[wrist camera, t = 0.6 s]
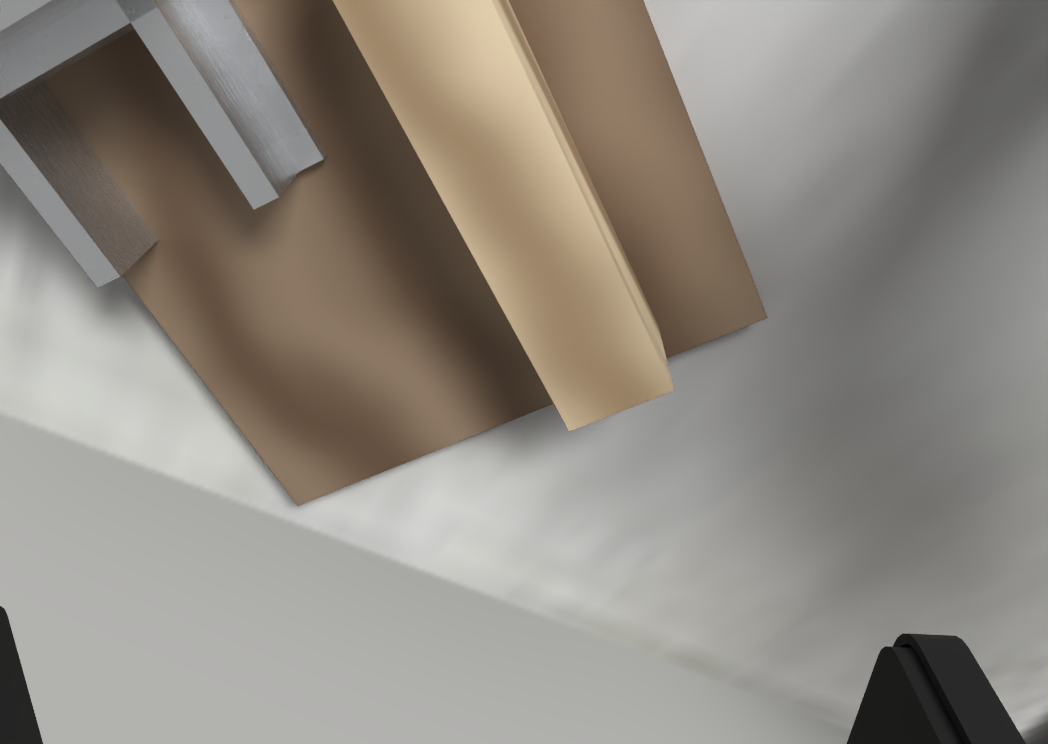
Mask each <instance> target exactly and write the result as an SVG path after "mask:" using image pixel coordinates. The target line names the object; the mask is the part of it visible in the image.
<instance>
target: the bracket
mask: <svg viewBox="0 0 1048 744" xmlns="http://www.w3.org/2000/svg"><path fill="white" fill-rule="evenodd" d="M133 29H135V30H136V32H137V33H138V35H139V36H140V38H141V39H142V41H143V42H144V44H145V45H146V47H147V48H148V50H149V51H150V53H151V54H152V56H153V57H154V59H155V60H156V62H157V63H158V65H159V66H160V68H161V69H162V71H163V73H164V74H165V76H166V77H167V79H168V80H169V82H170V83H171V85H172V86H173V88H174V89H175V91H176V92H177V94H178V95H179V97H180V98H181V100H182V101H183V103H184V104H185V106H186V107H187V109H188V110H189V112H190V113H191V115H192V117H193V118H194V120H195V121H196V123H197V124H198V126H199V127H200V129H201V130H202V132H203V133H204V135H205V136H206V138H207V139H208V141H209V142H210V144H211V145H212V147H213V148H214V150H215V151H216V153H217V154H218V156H219V157H220V159H221V161H222V162H223V164H224V165H225V167H226V168H227V170H228V171H229V173H230V174H231V176H232V177H233V179H234V180H235V182H236V183H237V185H238V186H239V188H240V189H241V191H242V192H243V194H244V195H245V197H246V198H247V200H248V201H249V203H250V205H251V206H252V208H253V209H256V208H258V207H260V206H262V205H264V204H266V203H268V202H270V201H272V200H274V199H276V198H278V197H280V195H281V194H282V193H283V192H284V190H285V189H286V188H287V187H288V186H289V184H290V183H291V182H292V181H293V179H294V178H295V177H296V176H297V174H298V173H299V172H300V171H301V170H303V169H305V168H307V167H309V166H311V165H313V164H315V163H317V162H319V161H321V160H323V159H324V158H325V157H326V156H327V153H326V151H325V149H324V148H323V146H322V144H321V143H320V141H319V139H318V138H317V136H316V134H315V133H314V131H313V129H312V128H311V126H310V124H309V123H308V121H307V119H306V118H305V116H304V114H303V113H302V111H301V109H300V108H299V106H298V104H297V103H296V101H295V99H294V98H293V96H292V94H291V93H290V91H289V89H288V88H287V86H286V84H285V83H284V81H283V79H282V78H281V76H280V74H279V73H278V71H277V69H276V68H275V66H274V64H273V63H272V61H271V59H270V58H269V56H268V54H267V53H266V51H265V49H264V48H263V46H262V44H261V43H260V41H259V39H258V38H257V36H256V34H255V32H254V31H253V29H252V27H251V26H250V24H249V22H248V21H247V19H246V17H245V16H244V14H243V12H242V11H241V9H240V7H239V6H238V4H237V2H236V1H235V0H0V164H1V165H2V166H3V167H4V169H5V170H6V171H7V173H8V174H9V175H10V176H11V178H12V179H13V180H14V181H15V183H16V184H17V185H18V187H19V188H20V189H21V190H22V192H23V193H24V194H25V196H26V197H27V198H28V199H29V201H30V202H31V203H32V204H33V206H34V207H35V208H36V210H37V211H38V212H39V213H40V215H41V216H42V217H43V219H44V220H45V221H46V222H47V224H48V225H49V226H50V228H51V229H52V230H53V231H54V233H55V234H56V235H57V236H58V238H59V239H60V240H61V242H62V243H63V244H64V245H65V247H66V248H67V249H68V251H69V252H70V253H71V254H72V256H73V257H74V258H75V259H76V261H77V262H78V263H79V265H80V266H81V267H82V268H83V270H84V271H85V272H86V274H87V275H88V276H89V277H90V279H91V280H92V281H93V282H94V284H95V285H96V286H97V288H99V287H101V286H103V285H105V284H107V283H109V282H111V281H113V280H115V279H117V278H119V277H120V276H121V275H123V274H124V273H125V272H126V271H127V270H128V269H129V268H130V267H131V266H132V265H133V264H134V263H135V262H136V261H137V260H138V259H139V258H140V257H141V256H142V255H143V254H144V253H145V252H146V251H147V250H148V249H150V248H151V247H152V246H153V245H154V244H155V243H156V242H157V241H158V238H157V237H156V235H155V234H154V233H153V231H152V230H151V229H150V227H149V226H148V224H147V223H146V222H145V220H144V219H143V218H142V216H141V215H140V213H139V212H138V211H137V209H136V208H135V207H134V205H133V204H132V202H131V201H130V200H129V198H128V197H127V196H126V194H125V193H124V191H123V190H122V189H121V187H120V186H119V184H118V183H117V182H116V180H115V179H114V178H113V176H112V175H111V173H110V172H109V171H108V169H107V168H106V167H105V165H104V164H103V162H102V161H101V160H100V158H99V157H98V156H97V154H96V153H95V151H94V150H93V149H92V147H91V146H90V144H89V143H88V142H87V140H86V139H85V138H84V136H83V135H82V133H81V132H80V131H79V129H78V128H77V127H76V125H75V124H74V122H73V121H72V120H71V118H70V117H69V116H68V114H67V113H66V111H65V110H64V109H63V107H62V106H61V105H60V103H59V102H58V100H57V99H56V98H55V96H54V95H53V93H52V92H51V91H50V89H49V88H48V87H47V85H46V84H45V82H44V81H45V80H47V79H49V78H51V77H52V76H54V75H56V74H58V73H59V72H61V71H63V70H64V69H66V68H68V67H70V66H71V65H73V64H75V63H77V62H78V61H80V60H82V59H83V58H85V57H87V56H89V55H90V54H92V53H94V52H95V51H97V50H99V49H101V48H102V47H104V46H106V45H108V44H109V43H111V42H113V41H114V40H116V39H118V38H120V37H121V36H123V35H125V34H127V33H128V32H130V31H132V30H133Z"/></svg>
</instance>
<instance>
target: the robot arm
mask: <svg viewBox="0 0 1048 744" xmlns="http://www.w3.org/2000/svg"><path fill="white" fill-rule="evenodd" d="M0 744H43V742H42V738H41V735H40V731H39V728H38V724H37V720H36V717H35V713H34V710H33V706H32V702H31V699H30V695H29V692H28V688H27V684H26V681H25V677H24V674H23V670H22V666H21V663H20V659H19V656H18V652H17V649H16V645H15V641H14V638H13V634H12V630H11V627H10V623H9V620H8V616H7V613H6V611H5V609H4V608H2V607H1V606H0ZM847 744H1026V743H1025V742H1024V740H1023V738H1022V737H1021V735H1020V733H1019V732H1018V730H1017V728H1016V726H1015V725H1014V723H1013V721H1012V720H1011V718H1010V716H1009V715H1008V713H1007V711H1006V710H1005V708H1004V706H1003V705H1002V703H1001V701H1000V700H999V698H998V696H997V695H996V693H995V691H994V690H993V688H992V686H991V685H990V683H989V681H988V679H987V678H986V676H985V674H984V673H983V671H982V669H981V668H980V666H979V664H978V663H977V661H976V659H975V658H974V656H973V654H972V653H971V651H970V649H969V648H968V646H967V645H966V644H965V643H964V641H963V640H962V639H960V638H958V637H957V636H945V635H923V634H902V635H900V636H899V637H898V638H897V639H896V641H895V643H894V645H893V647H884V648H883V649H881V651H880V653H879V655H878V658H877V661H876V663H875V666H874V669H873V672H872V675H871V677H870V680H869V683H868V686H867V689H866V691H865V694H864V697H863V700H862V702H861V705H860V708H859V711H858V714H857V716H856V719H855V722H854V725H853V728H852V730H851V733H850V736H849V739H848V741H847Z"/></svg>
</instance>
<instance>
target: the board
mask: <svg viewBox="0 0 1048 744" xmlns="http://www.w3.org/2000/svg"><path fill="white" fill-rule="evenodd" d="M235 1H236V2H237V4H238V6H239V7H240V9H241V11H242V12H243V14H244V16H245V17H246V19H247V21H248V22H249V24H250V26H251V27H252V29H253V31H254V32H255V34H256V36H257V38H258V39H259V41H260V43H261V44H262V46H263V48H264V49H265V51H266V53H267V54H268V56H269V58H270V59H271V61H272V63H273V64H274V66H275V68H276V69H277V71H278V73H279V74H280V76H281V78H282V79H283V81H284V83H285V84H286V86H287V88H288V89H289V91H290V93H291V94H292V96H293V98H294V99H295V101H296V103H297V104H298V106H299V108H300V109H301V111H302V113H303V114H304V116H305V118H306V119H307V121H308V123H309V124H310V126H311V128H312V129H313V131H314V133H315V134H316V136H317V138H318V139H319V141H320V143H321V144H322V146H323V148H324V149H325V151H326V153H327V156H326V157H325V158H324V159H323V160H321V161H319V162H317V163H315V164H313V165H311V166H309V167H307V168H305V169H303V170H301V171H300V172H299V173H298V174H297V176H296V177H295V178H294V179H293V181H292V182H291V183H290V184H289V186H288V187H287V188H286V189H285V190H284V192H283V193H282V194H281V195H280V197H278V198H276V199H274V200H272V201H270V202H268V203H266V204H264V205H262V206H260V207H258V208H256V209H253V208H252V206H251V205H250V203H249V201H248V200H247V198H246V197H245V195H244V194H243V192H242V191H241V189H240V188H239V186H238V185H237V183H236V182H235V180H234V179H233V177H232V176H231V174H230V173H229V171H228V170H227V168H226V167H225V165H224V164H223V162H222V161H221V159H220V157H219V156H218V154H217V153H216V151H215V150H214V148H213V147H212V145H211V144H210V142H209V141H208V139H207V138H206V136H205V135H204V133H203V132H202V130H201V129H200V127H199V126H198V124H197V123H196V121H195V120H194V118H193V117H192V115H191V113H190V112H189V110H188V109H187V107H186V106H185V104H184V103H183V101H182V100H181V98H180V97H179V95H178V94H177V92H176V91H175V89H174V88H173V86H172V85H171V83H170V82H169V80H168V79H167V77H166V76H165V74H164V73H163V71H162V69H161V68H160V66H159V65H158V63H157V62H156V60H155V59H154V57H153V56H152V54H151V53H150V51H149V50H148V48H147V47H146V45H145V44H144V42H143V41H142V39H141V38H140V36H139V35H138V33H137V32H136V30H135V29H133V30H132V31H130V32H128V33H127V34H125V35H123V36H121V37H120V38H118V39H116V40H114V41H113V42H111V43H109V44H108V45H106V46H104V47H102V48H101V49H99V50H97V51H95V52H94V53H92V54H90V55H89V56H87V57H85V58H83V59H82V60H80V61H78V62H77V63H75V64H73V65H71V66H70V67H68V68H66V69H64V70H63V71H61V72H59V73H58V74H56V75H54V76H52V77H51V78H49V79H47V80H45V81H44V82H45V84H46V85H47V87H48V88H49V89H50V91H51V92H52V93H53V95H54V96H55V98H56V99H57V100H58V102H59V103H60V105H61V106H62V107H63V109H64V110H65V111H66V113H67V114H68V116H69V117H70V118H71V120H72V121H73V122H74V124H75V125H76V127H77V128H78V129H79V131H80V132H81V133H82V135H83V136H84V138H85V139H86V140H87V142H88V143H89V144H90V146H91V147H92V149H93V150H94V151H95V153H96V154H97V156H98V157H99V158H100V160H101V161H102V162H103V164H104V165H105V167H106V168H107V169H108V171H109V172H110V173H111V175H112V176H113V178H114V179H115V180H116V182H117V183H118V184H119V186H120V187H121V189H122V190H123V191H124V193H125V194H126V196H127V197H128V198H129V200H130V201H131V202H132V204H133V205H134V207H135V208H136V209H137V211H138V212H139V213H140V215H141V216H142V218H143V219H144V220H145V222H146V223H147V224H148V226H149V227H150V229H151V230H152V231H153V233H154V234H155V235H156V237H157V238H158V241H157V242H156V243H155V244H154V245H153V246H152V247H151V248H150V249H148V250H147V251H146V252H145V253H144V254H143V255H142V256H141V257H140V258H139V259H138V260H137V261H136V262H135V263H134V264H133V265H132V266H131V267H130V268H129V269H128V270H127V271H126V272H125V273H124V274H123V277H124V278H125V279H126V281H127V282H128V283H129V285H130V286H131V287H132V288H133V290H134V291H135V292H136V294H137V295H138V296H139V298H140V299H141V300H142V302H143V303H144V304H145V306H146V307H147V308H148V309H149V311H150V312H151V313H152V315H153V316H154V317H155V319H156V320H157V321H158V323H159V324H160V325H161V327H162V328H163V329H164V331H165V332H166V333H167V334H168V336H169V337H170V338H171V340H172V341H173V342H174V344H175V345H176V346H177V348H178V349H179V350H180V352H181V353H182V354H183V355H184V357H185V358H186V359H187V361H188V362H189V363H190V365H191V366H192V367H193V369H194V370H195V371H196V373H197V374H198V375H199V376H200V378H201V379H202V380H203V382H204V383H205V384H206V386H207V387H208V388H209V390H210V391H211V392H212V394H213V395H214V396H215V397H216V399H217V400H218V401H219V403H220V404H221V405H222V407H223V408H224V409H225V411H226V412H227V413H228V415H229V416H230V417H231V418H232V420H233V421H234V422H235V424H236V425H237V426H238V428H239V429H240V430H241V432H242V433H243V434H244V436H245V437H246V438H247V439H248V441H249V442H250V443H251V445H252V446H253V447H254V449H255V450H256V451H257V453H258V454H259V455H260V457H261V458H262V459H263V460H264V462H265V463H266V464H267V466H268V467H269V468H270V470H271V471H272V472H273V474H274V475H275V476H276V478H277V479H278V480H279V481H280V483H281V484H282V485H283V487H284V488H285V489H286V491H287V492H288V493H289V495H290V496H291V497H292V499H293V500H294V501H295V502H296V504H297V505H298V506H299V505H301V504H304V503H306V502H309V501H311V500H314V499H316V498H319V497H321V496H324V495H326V494H329V493H331V492H334V491H336V490H339V489H341V488H344V487H346V486H349V485H351V484H354V483H356V482H359V481H361V480H364V479H366V478H369V477H371V476H374V475H376V474H379V473H381V472H384V471H386V470H389V469H391V468H394V467H396V466H399V465H401V464H404V463H406V462H409V461H411V460H414V459H416V458H419V457H421V456H424V455H426V454H429V453H431V452H434V451H436V450H439V449H441V448H444V447H446V446H449V445H451V444H454V443H456V442H459V441H461V440H464V439H466V438H469V437H471V436H474V435H476V434H479V433H481V432H484V431H486V430H489V429H491V428H494V427H496V426H499V425H501V424H504V423H506V422H509V421H511V420H514V419H516V418H519V417H521V416H524V415H526V414H529V413H531V412H534V411H536V410H539V409H541V408H544V407H546V406H549V405H551V404H554V403H553V401H552V399H551V397H550V395H549V393H548V392H547V390H546V388H545V386H544V384H543V382H542V381H541V379H540V377H539V375H538V373H537V372H536V370H535V368H534V366H533V364H532V362H531V361H530V359H529V357H528V355H527V353H526V352H525V350H524V348H523V346H522V344H521V342H520V341H519V339H518V337H517V335H516V333H515V332H514V330H513V328H512V326H511V324H510V322H509V321H508V319H507V317H506V315H505V313H504V312H503V310H502V308H501V306H500V304H499V302H498V301H497V299H496V297H495V295H494V293H493V291H492V290H491V288H490V286H489V284H488V282H487V281H486V279H485V277H484V275H483V273H482V271H481V270H480V268H479V266H478V264H477V262H476V261H475V259H474V257H473V255H472V253H471V251H470V250H469V248H468V246H467V244H466V242H465V241H464V239H463V237H462V235H461V233H460V231H459V230H458V228H457V226H456V224H455V222H454V220H453V219H452V217H451V215H450V213H449V211H448V210H447V208H446V206H445V204H444V202H443V200H442V199H441V197H440V195H439V193H438V191H437V190H436V188H435V186H434V184H433V182H432V180H431V179H430V177H429V175H428V173H427V171H426V170H425V168H424V166H423V164H422V162H421V160H420V159H419V157H418V155H417V153H416V151H415V150H414V148H413V146H412V144H411V142H410V140H409V139H408V137H407V135H406V133H405V131H404V129H403V128H402V126H401V124H400V122H399V120H398V119H397V117H396V115H395V113H394V111H393V109H392V108H391V106H390V104H389V102H388V100H387V99H386V97H385V95H384V93H383V91H382V89H381V88H380V86H379V84H378V82H377V80H376V79H375V77H374V75H373V73H372V71H371V69H370V68H369V66H368V64H367V62H366V60H365V58H364V57H363V55H362V53H361V51H360V49H359V48H358V46H357V44H356V42H355V40H354V38H353V37H352V35H351V33H350V31H349V29H348V28H347V26H346V24H345V22H344V20H343V18H342V17H341V15H340V13H339V11H338V9H337V8H336V6H335V4H334V2H333V0H235ZM509 2H510V4H511V7H512V9H513V11H514V13H515V15H516V18H517V20H518V22H519V24H520V26H521V28H522V31H523V33H524V35H525V37H526V39H527V41H528V44H529V46H530V48H531V50H532V52H533V54H534V57H535V59H536V61H537V63H538V65H539V67H540V70H541V72H542V74H543V76H544V78H545V81H546V83H547V85H548V87H549V89H550V91H551V94H552V96H553V98H554V100H555V102H556V104H557V107H558V109H559V111H560V113H561V115H562V117H563V120H564V122H565V124H566V126H567V128H568V130H569V133H570V135H571V137H572V139H573V141H574V144H575V146H576V148H577V150H578V152H579V154H580V157H581V159H582V161H583V163H584V165H585V167H586V170H587V172H588V174H589V176H590V178H591V180H592V183H593V185H594V187H595V189H596V191H597V193H598V196H599V198H600V200H601V202H602V204H603V207H604V209H605V211H606V213H607V215H608V217H609V220H610V222H611V224H612V226H613V228H614V230H615V233H616V235H617V237H618V239H619V241H620V243H621V246H622V248H623V250H624V252H625V254H626V256H627V259H628V261H629V263H630V265H631V267H632V270H633V272H634V274H635V276H636V278H637V280H638V283H639V285H640V287H641V289H642V291H643V293H644V296H645V298H646V300H647V302H648V304H649V306H650V309H651V311H652V313H653V315H654V317H655V319H656V322H657V324H658V326H659V330H660V334H661V338H662V343H663V347H664V351H665V355H666V358H668V357H671V356H673V355H676V354H678V353H681V352H683V351H686V350H688V349H691V348H693V347H696V346H698V345H701V344H703V343H706V342H708V341H711V340H713V339H716V338H718V337H721V336H723V335H726V334H728V333H731V332H733V331H736V330H738V329H741V328H743V327H746V326H748V325H751V324H753V323H756V322H758V321H761V320H763V319H766V318H768V317H767V315H766V312H765V310H764V307H763V305H762V302H761V299H760V297H759V294H758V292H757V289H756V287H755V284H754V282H753V279H752V277H751V274H750V271H749V269H748V266H747V264H746V261H745V259H744V256H743V254H742V251H741V248H740V246H739V243H738V241H737V238H736V236H735V233H734V231H733V228H732V226H731V223H730V220H729V218H728V215H727V213H726V210H725V208H724V205H723V203H722V200H721V197H720V195H719V192H718V190H717V187H716V185H715V182H714V180H713V177H712V175H711V172H710V169H709V167H708V164H707V162H706V159H705V157H704V154H703V152H702V149H701V147H700V144H699V141H698V139H697V136H696V134H695V131H694V129H693V126H692V124H691V121H690V118H689V116H688V113H687V111H686V108H685V106H684V103H683V101H682V98H681V96H680V93H679V90H678V88H677V85H676V83H675V80H674V78H673V75H672V73H671V70H670V67H669V65H668V62H667V60H666V57H665V55H664V52H663V50H662V47H661V45H660V42H659V39H658V37H657V34H656V32H655V29H654V27H653V24H652V22H651V19H650V16H649V14H648V11H647V9H646V6H645V4H644V1H643V0H509Z"/></svg>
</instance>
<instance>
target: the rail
mask: <svg viewBox="0 0 1048 744" xmlns="http://www.w3.org/2000/svg"><path fill="white" fill-rule="evenodd" d="M333 2H334V4H335V6H336V8H337V9H338V11H339V13H340V15H341V17H342V18H343V20H344V22H345V24H346V26H347V28H348V29H349V31H350V33H351V35H352V37H353V38H354V40H355V42H356V44H357V46H358V48H359V49H360V51H361V53H362V55H363V57H364V58H365V60H366V62H367V64H368V66H369V68H370V69H371V71H372V73H373V75H374V77H375V79H376V80H377V82H378V84H379V86H380V88H381V89H382V91H383V93H384V95H385V97H386V99H387V100H388V102H389V104H390V106H391V108H392V109H393V111H394V113H395V115H396V117H397V119H398V120H399V122H400V124H401V126H402V128H403V129H404V131H405V133H406V135H407V137H408V139H409V140H410V142H411V144H412V146H413V148H414V150H415V151H416V153H417V155H418V157H419V159H420V160H421V162H422V164H423V166H424V168H425V170H426V171H427V173H428V175H429V177H430V179H431V180H432V182H433V184H434V186H435V188H436V190H437V191H438V193H439V195H440V197H441V199H442V200H443V202H444V204H445V206H446V208H447V210H448V211H449V213H450V215H451V217H452V219H453V220H454V222H455V224H456V226H457V228H458V230H459V231H460V233H461V235H462V237H463V239H464V241H465V242H466V244H467V246H468V248H469V250H470V251H471V253H472V255H473V257H474V259H475V261H476V262H477V264H478V266H479V268H480V270H481V271H482V273H483V275H484V277H485V279H486V281H487V282H488V284H489V286H490V288H491V290H492V291H493V293H494V295H495V297H496V299H497V301H498V302H499V304H500V306H501V308H502V310H503V312H504V313H505V315H506V317H507V319H508V321H509V322H510V324H511V326H512V328H513V330H514V332H515V333H516V335H517V337H518V339H519V341H520V342H521V344H522V346H523V348H524V350H525V352H526V353H527V355H528V357H529V359H530V361H531V362H532V364H533V366H534V368H535V370H536V372H537V373H538V375H539V377H540V379H541V381H542V382H543V384H544V386H545V388H546V390H547V392H548V393H549V395H550V397H551V399H552V401H553V403H554V404H555V406H556V408H557V410H558V412H559V413H560V415H561V417H562V419H563V421H564V423H565V424H566V426H567V428H568V430H569V431H572V430H574V429H577V428H579V427H582V426H585V425H587V424H590V423H592V422H595V421H597V420H600V419H602V418H605V417H608V416H610V415H613V414H615V413H618V412H620V411H623V410H626V409H628V408H631V407H633V406H636V405H638V404H641V403H643V402H646V401H649V400H651V399H654V398H656V397H659V396H661V395H664V394H666V393H669V392H672V391H674V388H673V383H672V379H671V375H670V371H669V367H668V363H667V359H666V355H665V351H664V347H663V343H662V338H661V334H660V330H659V326H658V324H657V322H656V319H655V317H654V315H653V313H652V311H651V309H650V306H649V304H648V302H647V300H646V298H645V296H644V293H643V291H642V289H641V287H640V285H639V283H638V280H637V278H636V276H635V274H634V272H633V270H632V267H631V265H630V263H629V261H628V259H627V256H626V254H625V252H624V250H623V248H622V246H621V243H620V241H619V239H618V237H617V235H616V233H615V230H614V228H613V226H612V224H611V222H610V220H609V217H608V215H607V213H606V211H605V209H604V207H603V204H602V202H601V200H600V198H599V196H598V193H597V191H596V189H595V187H594V185H593V183H592V180H591V178H590V176H589V174H588V172H587V170H586V167H585V165H584V163H583V161H582V159H581V157H580V154H579V152H578V150H577V148H576V146H575V144H574V141H573V139H572V137H571V135H570V133H569V130H568V128H567V126H566V124H565V122H564V120H563V117H562V115H561V113H560V111H559V109H558V107H557V104H556V102H555V100H554V98H553V96H552V94H551V91H550V89H549V87H548V85H547V83H546V81H545V78H544V76H543V74H542V72H541V70H540V67H539V65H538V63H537V61H536V59H535V57H534V54H533V52H532V50H531V48H530V46H529V44H528V41H527V39H526V37H525V35H524V33H523V31H522V28H521V26H520V24H519V22H518V20H517V18H516V15H515V13H514V11H513V9H512V7H511V4H510V2H509V0H333Z"/></svg>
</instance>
